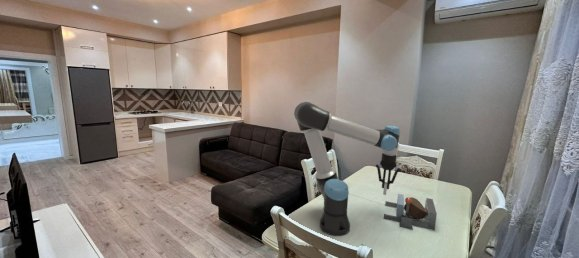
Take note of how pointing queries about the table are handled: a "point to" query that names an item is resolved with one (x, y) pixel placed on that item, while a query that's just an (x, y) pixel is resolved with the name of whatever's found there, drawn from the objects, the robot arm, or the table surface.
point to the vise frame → (409, 222)
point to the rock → (416, 209)
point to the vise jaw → (400, 205)
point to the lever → (408, 201)
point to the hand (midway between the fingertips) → (384, 193)
